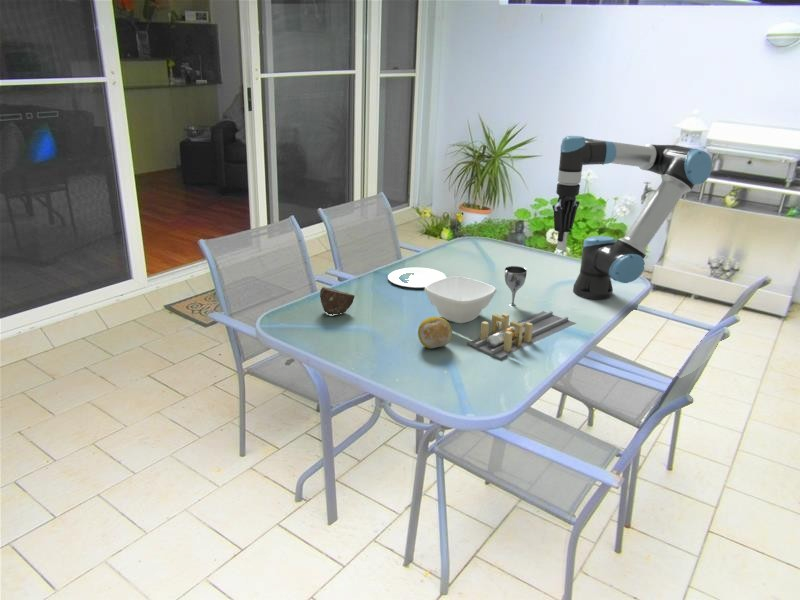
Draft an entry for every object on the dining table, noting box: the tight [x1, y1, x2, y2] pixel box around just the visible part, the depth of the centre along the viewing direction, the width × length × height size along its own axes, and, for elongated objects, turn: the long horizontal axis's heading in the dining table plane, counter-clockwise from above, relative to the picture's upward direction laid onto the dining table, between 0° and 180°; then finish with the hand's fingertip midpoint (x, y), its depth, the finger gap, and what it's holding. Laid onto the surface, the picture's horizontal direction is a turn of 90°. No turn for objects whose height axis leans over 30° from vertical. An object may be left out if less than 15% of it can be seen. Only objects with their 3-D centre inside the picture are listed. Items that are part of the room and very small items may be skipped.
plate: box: [387, 267, 448, 289], centre depth 253 cm, size 25×25×2 cm
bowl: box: [423, 275, 497, 324], centre depth 214 cm, size 22×22×12 cm
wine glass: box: [504, 265, 528, 307], centre depth 224 cm, size 8×8×15 cm
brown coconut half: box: [319, 286, 355, 315], centre depth 216 cm, size 12×10×10 cm
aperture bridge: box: [490, 313, 523, 347], centre depth 196 cm, size 2×12×7 cm, turn 41°
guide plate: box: [466, 310, 576, 361], centre depth 202 cm, size 41×14×7 cm, turn 131°
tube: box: [486, 322, 528, 348], centre depth 197 cm, size 18×4×4 cm, turn 131°
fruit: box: [417, 316, 453, 349], centre depth 192 cm, size 10×11×10 cm
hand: (561, 249), depth 213 cm, fingers closed
